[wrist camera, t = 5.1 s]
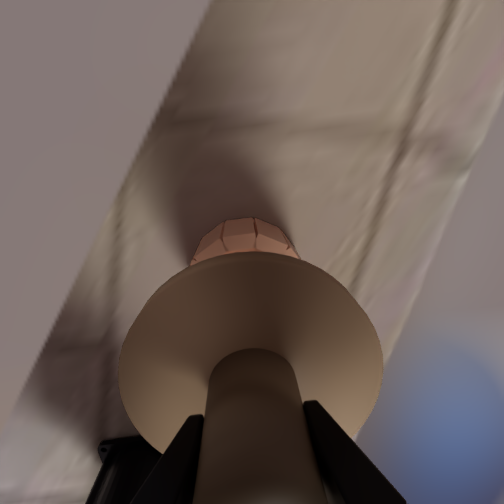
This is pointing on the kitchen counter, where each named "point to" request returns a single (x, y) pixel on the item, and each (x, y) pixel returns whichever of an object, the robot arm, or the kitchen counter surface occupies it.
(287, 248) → the bucket
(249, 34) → the kitchen counter surface
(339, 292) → the lid
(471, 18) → the kitchen counter surface
